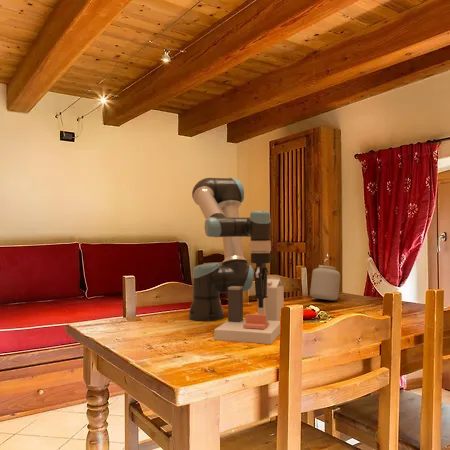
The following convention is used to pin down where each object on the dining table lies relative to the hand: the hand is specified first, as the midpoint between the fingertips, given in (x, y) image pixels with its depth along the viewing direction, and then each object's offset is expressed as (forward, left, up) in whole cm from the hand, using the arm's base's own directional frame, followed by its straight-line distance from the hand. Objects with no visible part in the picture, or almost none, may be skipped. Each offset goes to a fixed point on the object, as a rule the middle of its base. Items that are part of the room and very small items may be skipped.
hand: (261, 315), depth 158 cm
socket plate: (+6, -3, -6) cm, 9 cm away
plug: (0, -10, -2) cm, 10 cm away
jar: (-79, +17, -6) cm, 81 cm away
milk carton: (-16, +1, -6) cm, 17 cm away
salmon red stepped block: (+8, 0, -2) cm, 8 cm away
